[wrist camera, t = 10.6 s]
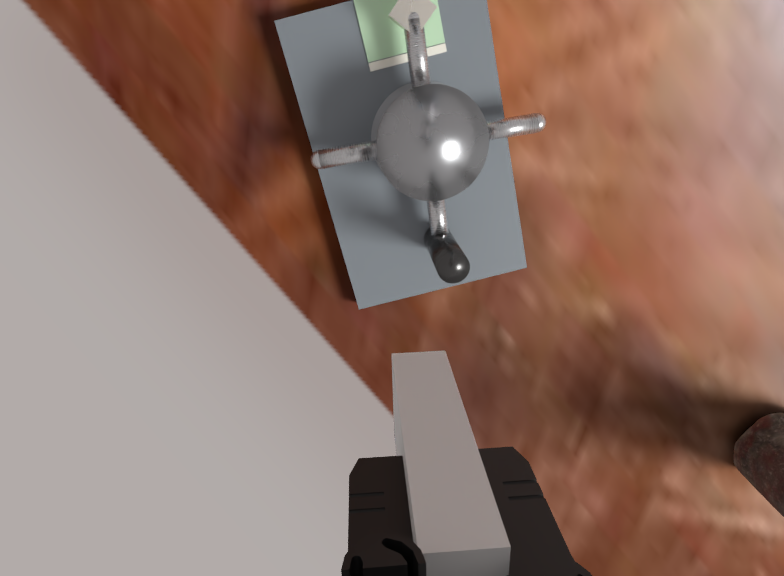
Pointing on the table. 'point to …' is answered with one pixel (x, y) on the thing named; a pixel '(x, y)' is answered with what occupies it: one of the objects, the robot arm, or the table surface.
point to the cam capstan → (430, 141)
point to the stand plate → (360, 124)
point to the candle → (764, 458)
